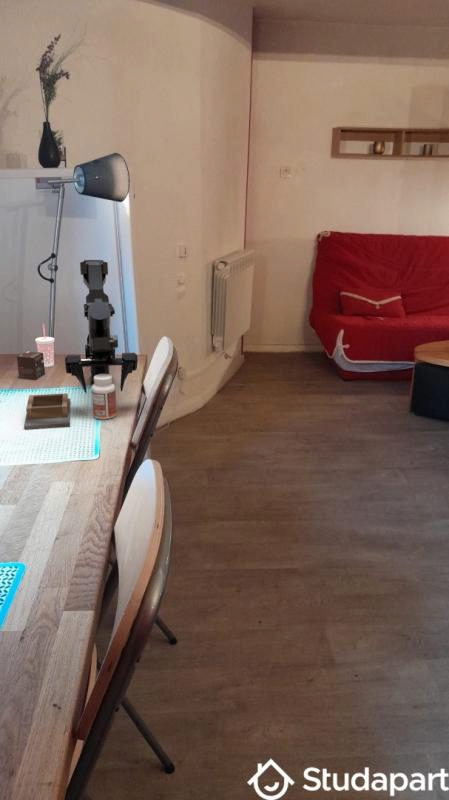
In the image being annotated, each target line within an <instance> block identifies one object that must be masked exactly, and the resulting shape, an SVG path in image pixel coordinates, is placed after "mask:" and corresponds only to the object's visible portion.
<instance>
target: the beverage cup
mask: <svg viewBox="0 0 449 800" xmlns="http://www.w3.org/2000/svg"><path fill="white" fill-rule="evenodd" d="M42 330H43V336H39V337H37V338H35V343H36V348H37V352H40V353H43V358H44V368H47V367H53V366H54V365H55V347H54V346H55V345H54V343H55V338H54V336H53V337H52V336H46V329H45V323H43V324H42Z"/></svg>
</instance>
